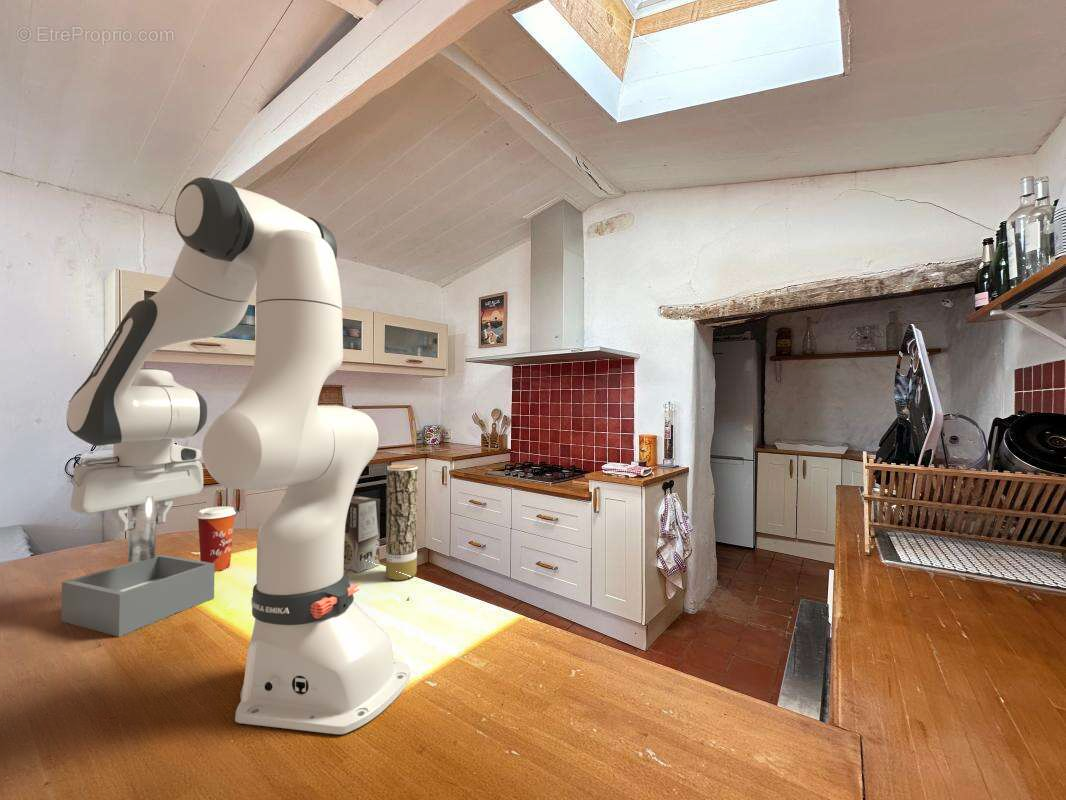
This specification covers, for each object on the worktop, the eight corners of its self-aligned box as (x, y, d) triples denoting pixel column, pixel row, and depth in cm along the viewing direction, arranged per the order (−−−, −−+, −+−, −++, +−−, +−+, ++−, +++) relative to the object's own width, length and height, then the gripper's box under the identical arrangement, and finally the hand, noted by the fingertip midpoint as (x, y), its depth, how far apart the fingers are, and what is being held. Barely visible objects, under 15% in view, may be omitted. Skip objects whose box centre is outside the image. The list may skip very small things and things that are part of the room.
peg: (160, 556, 87) (161, 493, 87) (136, 562, 83) (138, 497, 83) (146, 553, 88) (148, 492, 89) (122, 560, 85) (124, 496, 85)
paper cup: (220, 574, 103) (221, 513, 103) (187, 574, 103) (188, 513, 104) (242, 562, 111) (243, 505, 111) (211, 562, 111) (212, 505, 111)
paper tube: (408, 582, 99) (409, 468, 100) (379, 580, 101) (381, 467, 101) (421, 571, 106) (422, 465, 106) (395, 569, 107) (396, 464, 108)
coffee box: (380, 565, 110) (381, 498, 110) (357, 573, 105) (358, 503, 105) (356, 558, 115) (357, 494, 115) (333, 565, 109) (334, 499, 110)
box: (214, 598, 91) (214, 563, 91) (119, 636, 76) (119, 594, 76) (160, 587, 96) (160, 554, 96) (61, 621, 81) (61, 582, 81)
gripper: (86, 461, 75) (84, 544, 75) (209, 450, 95) (207, 516, 94) (63, 459, 77) (61, 540, 77) (188, 448, 97) (186, 513, 96)
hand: (142, 526), depth 86 cm, fingers closed on peg, 4 cm apart
